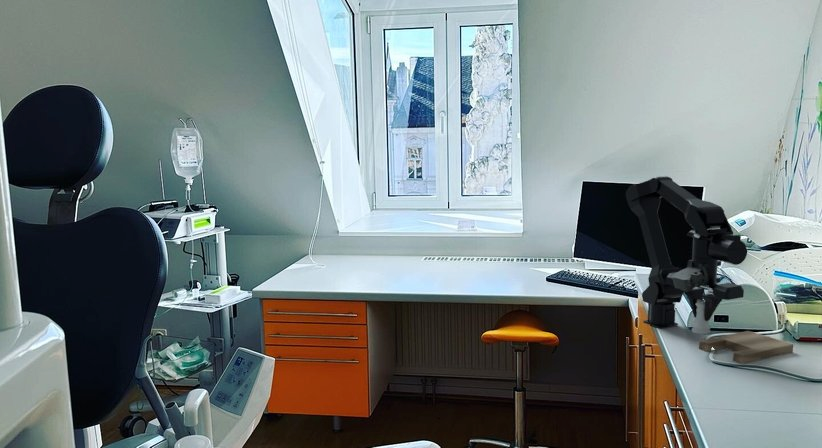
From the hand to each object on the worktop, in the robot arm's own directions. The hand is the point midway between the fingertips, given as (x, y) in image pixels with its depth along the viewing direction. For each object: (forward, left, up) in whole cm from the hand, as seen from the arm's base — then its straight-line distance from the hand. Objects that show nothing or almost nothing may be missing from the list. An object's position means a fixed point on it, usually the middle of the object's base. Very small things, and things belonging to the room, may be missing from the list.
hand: (701, 319), depth 169 cm
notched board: (+10, +3, -6) cm, 12 cm away
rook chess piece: (0, 0, -4) cm, 4 cm away
